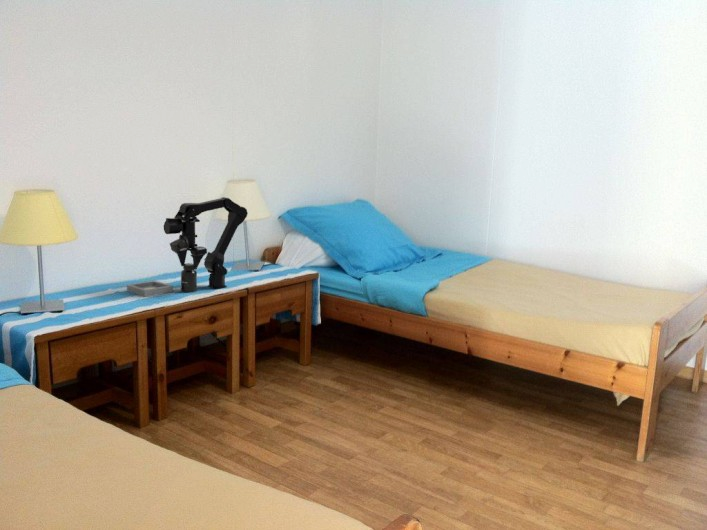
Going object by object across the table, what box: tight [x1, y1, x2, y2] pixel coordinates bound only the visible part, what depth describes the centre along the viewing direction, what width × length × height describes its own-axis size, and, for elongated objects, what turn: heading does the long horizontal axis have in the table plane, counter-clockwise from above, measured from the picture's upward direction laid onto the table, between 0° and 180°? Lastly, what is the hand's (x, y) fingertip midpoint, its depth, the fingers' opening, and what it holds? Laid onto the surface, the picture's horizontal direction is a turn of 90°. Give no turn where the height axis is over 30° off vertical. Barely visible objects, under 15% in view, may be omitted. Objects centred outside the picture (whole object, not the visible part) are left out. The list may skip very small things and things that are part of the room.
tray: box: [126, 280, 174, 297], centre depth 299 cm, size 14×14×3 cm
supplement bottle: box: [180, 262, 198, 293], centre depth 301 cm, size 7×7×12 cm
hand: (188, 267), depth 300 cm, fingers open, 9 cm apart
